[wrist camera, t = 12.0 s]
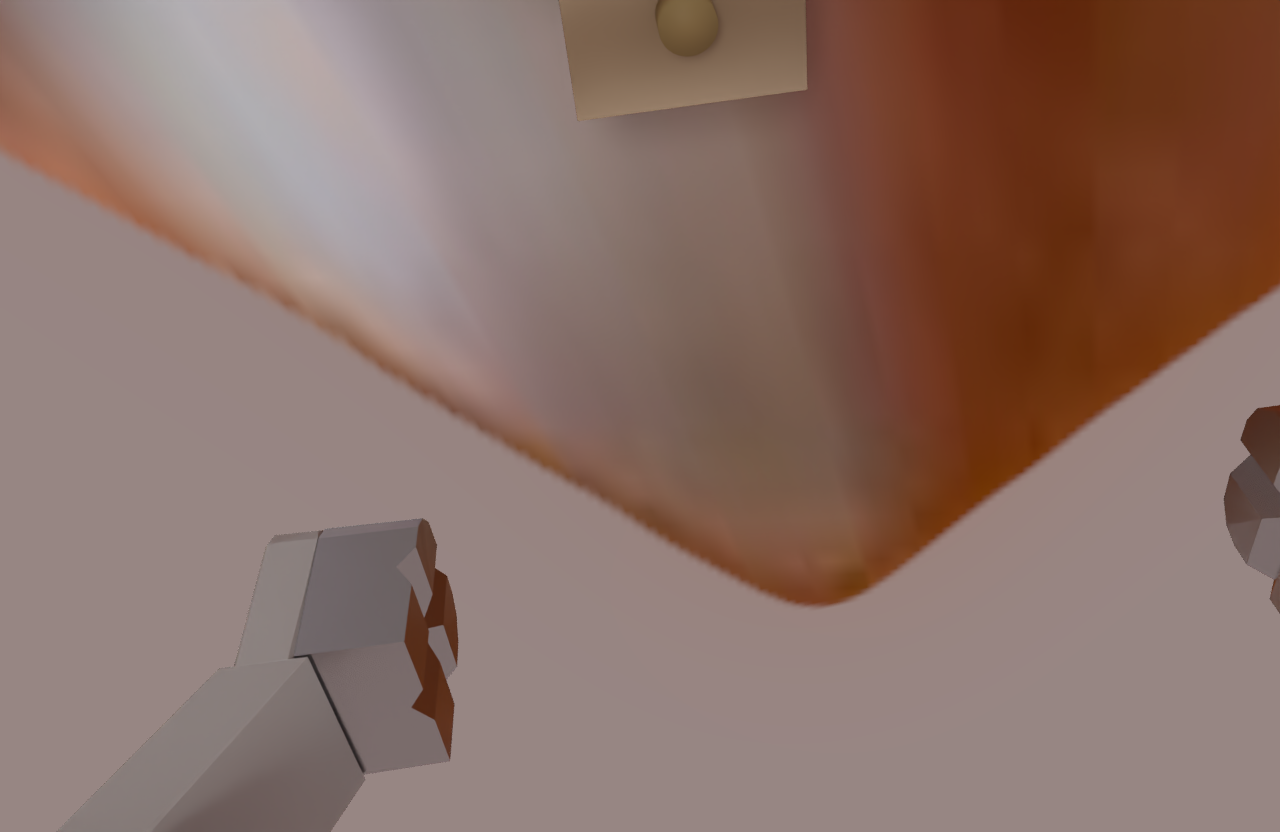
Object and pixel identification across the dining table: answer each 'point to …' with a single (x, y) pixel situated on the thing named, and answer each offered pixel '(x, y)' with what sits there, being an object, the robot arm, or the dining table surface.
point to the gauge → (681, 52)
